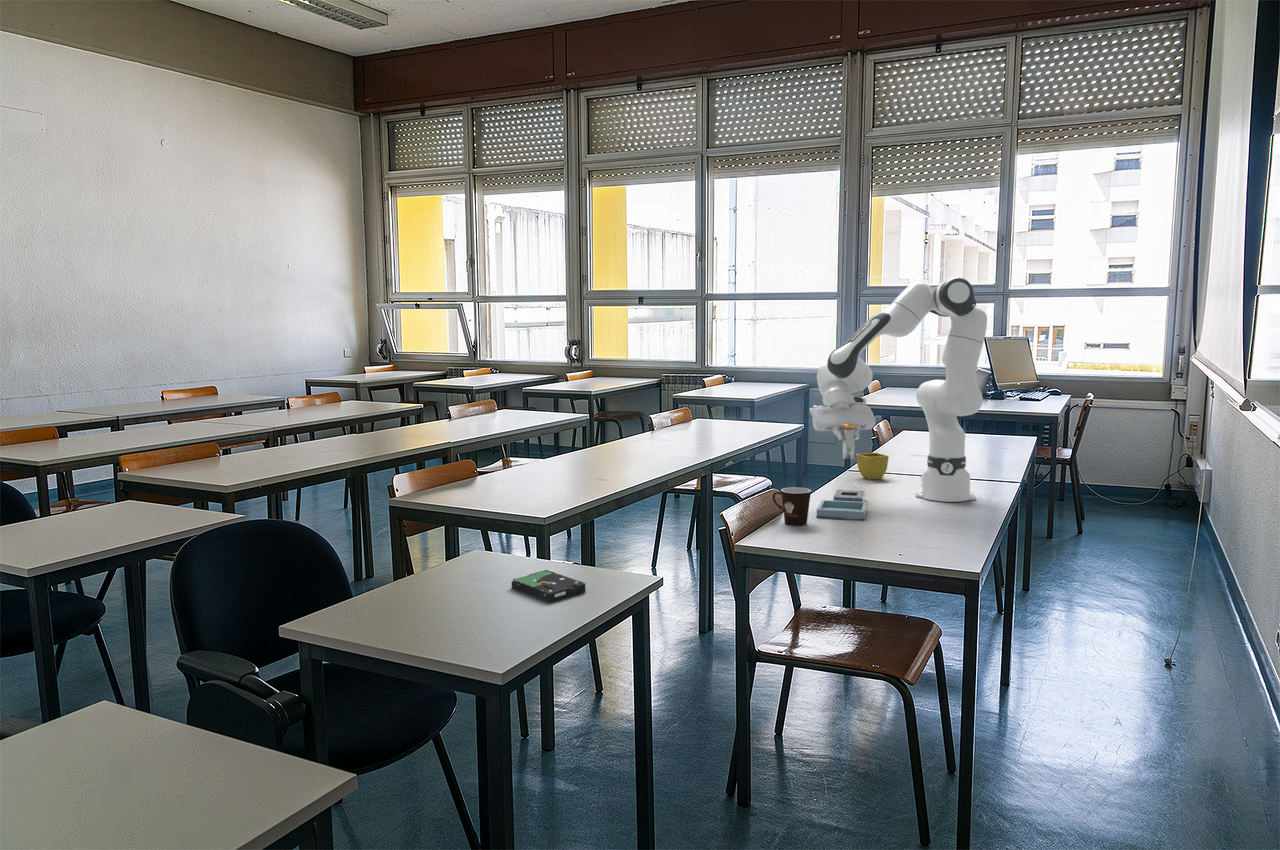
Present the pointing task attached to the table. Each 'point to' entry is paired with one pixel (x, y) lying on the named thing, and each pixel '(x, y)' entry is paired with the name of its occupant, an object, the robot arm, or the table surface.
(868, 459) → the flower pot
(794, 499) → the coffee mug
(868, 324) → the robot arm
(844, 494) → the socket block
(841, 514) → the tray
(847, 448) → the orange capped bottle
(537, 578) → the disk drive
